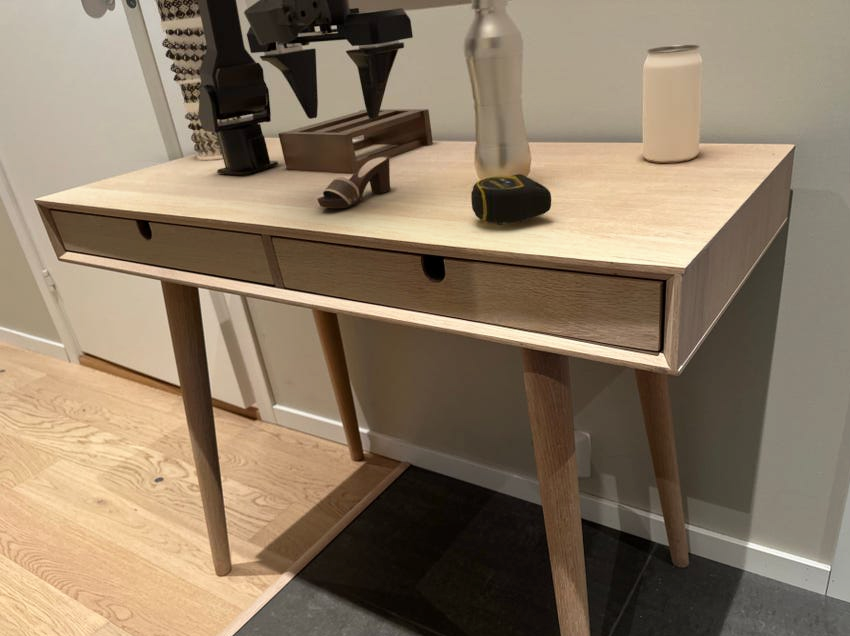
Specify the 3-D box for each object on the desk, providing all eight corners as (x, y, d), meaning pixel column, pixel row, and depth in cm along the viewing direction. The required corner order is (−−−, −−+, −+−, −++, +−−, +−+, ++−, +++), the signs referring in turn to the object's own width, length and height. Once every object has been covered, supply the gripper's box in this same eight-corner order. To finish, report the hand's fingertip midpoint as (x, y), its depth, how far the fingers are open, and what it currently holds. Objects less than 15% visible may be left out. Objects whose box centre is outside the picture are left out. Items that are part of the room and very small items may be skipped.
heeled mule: (306, 211, 79) (299, 177, 77) (377, 186, 86) (372, 154, 84) (332, 215, 76) (325, 180, 74) (403, 189, 83) (398, 156, 82)
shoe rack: (286, 169, 101) (278, 133, 99) (369, 141, 114) (364, 109, 111) (352, 173, 94) (345, 134, 92) (433, 143, 107) (428, 109, 105)
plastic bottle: (468, 192, 79) (446, -8, 70) (488, 176, 85) (470, -11, 75) (522, 191, 77) (507, -15, 68) (540, 175, 82) (528, -17, 73)
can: (710, 154, 83) (716, 44, 77) (672, 166, 80) (675, 52, 74) (668, 148, 88) (671, 44, 82) (631, 159, 85) (631, 51, 79)
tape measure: (555, 222, 66) (553, 182, 64) (486, 235, 65) (482, 195, 63) (529, 205, 72) (526, 168, 70) (465, 217, 70) (461, 180, 69)
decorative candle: (262, 149, 118) (221, -20, 106) (212, 162, 112) (163, -15, 100) (234, 146, 123) (192, -15, 112) (185, 158, 118) (135, -10, 106)
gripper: (186, -32, 69) (228, 132, 76) (320, -56, 59) (354, 135, 66) (272, -36, 77) (303, 113, 84) (403, -58, 67) (426, 113, 74)
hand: (342, 118), depth 77 cm, fingers open, 9 cm apart
